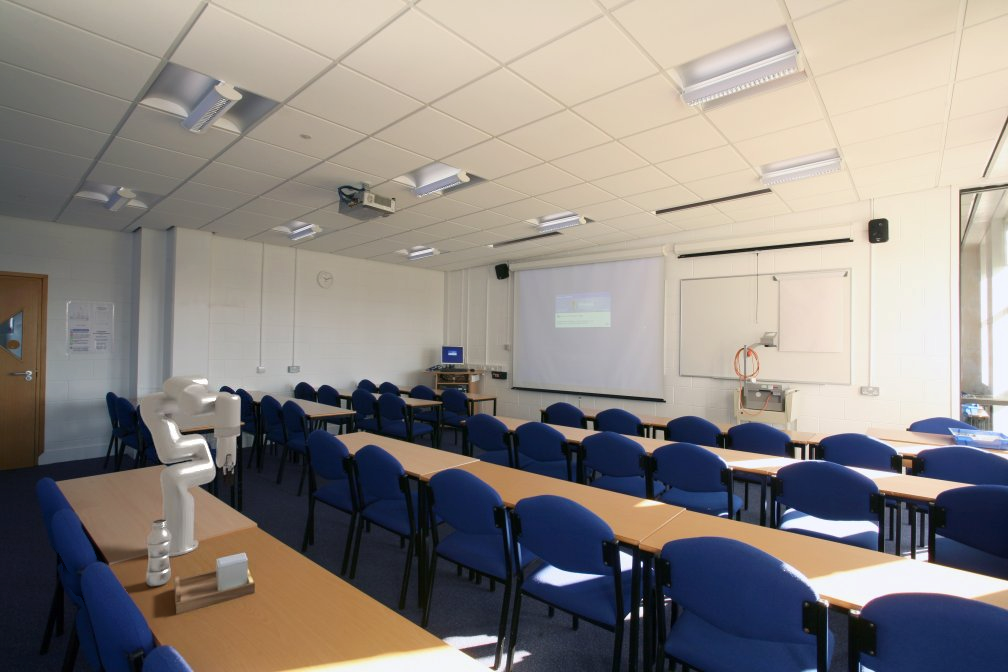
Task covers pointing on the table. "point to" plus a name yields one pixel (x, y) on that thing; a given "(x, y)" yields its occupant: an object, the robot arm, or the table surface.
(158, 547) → the plastic bottle
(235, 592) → the bay
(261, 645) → the table surface
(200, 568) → the table surface
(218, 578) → the grey block
